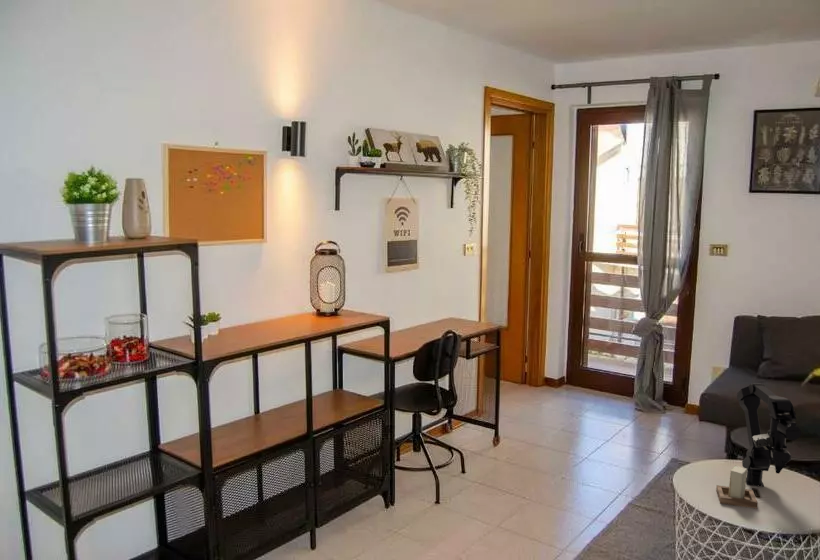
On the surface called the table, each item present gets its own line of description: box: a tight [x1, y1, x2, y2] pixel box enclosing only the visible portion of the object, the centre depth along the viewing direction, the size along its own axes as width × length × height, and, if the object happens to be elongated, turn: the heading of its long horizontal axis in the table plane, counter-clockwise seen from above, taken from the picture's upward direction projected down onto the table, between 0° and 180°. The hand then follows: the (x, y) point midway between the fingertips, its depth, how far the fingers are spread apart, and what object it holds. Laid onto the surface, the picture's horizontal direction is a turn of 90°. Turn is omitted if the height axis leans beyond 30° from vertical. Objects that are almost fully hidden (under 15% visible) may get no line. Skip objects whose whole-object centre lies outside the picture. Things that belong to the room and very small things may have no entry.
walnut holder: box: [715, 484, 759, 509], centre depth 257 cm, size 11×13×2 cm
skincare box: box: [728, 465, 747, 499], centre depth 257 cm, size 6×4×12 cm
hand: (774, 468), depth 256 cm, fingers open, 9 cm apart
